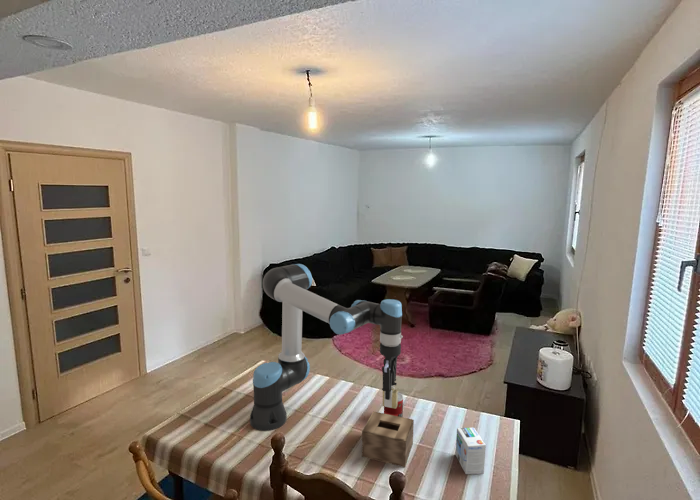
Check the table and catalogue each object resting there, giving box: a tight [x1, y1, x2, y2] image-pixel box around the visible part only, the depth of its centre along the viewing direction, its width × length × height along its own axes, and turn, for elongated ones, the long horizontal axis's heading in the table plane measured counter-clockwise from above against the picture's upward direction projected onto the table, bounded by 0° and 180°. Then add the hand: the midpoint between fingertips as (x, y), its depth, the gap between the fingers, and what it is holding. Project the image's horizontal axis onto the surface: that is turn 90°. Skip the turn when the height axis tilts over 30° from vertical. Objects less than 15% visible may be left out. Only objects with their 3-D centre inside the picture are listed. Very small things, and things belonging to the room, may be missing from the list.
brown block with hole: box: [361, 411, 415, 468], centre depth 145 cm, size 16×14×10 cm
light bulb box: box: [455, 427, 487, 475], centre depth 138 cm, size 11×7×11 cm, turn 5°
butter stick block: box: [382, 388, 399, 409], centre depth 143 cm, size 5×2×6 cm, turn 70°
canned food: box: [383, 392, 404, 418], centre depth 165 cm, size 8×8×11 cm
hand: (389, 404), depth 144 cm, fingers closed on butter stick block, 2 cm apart
